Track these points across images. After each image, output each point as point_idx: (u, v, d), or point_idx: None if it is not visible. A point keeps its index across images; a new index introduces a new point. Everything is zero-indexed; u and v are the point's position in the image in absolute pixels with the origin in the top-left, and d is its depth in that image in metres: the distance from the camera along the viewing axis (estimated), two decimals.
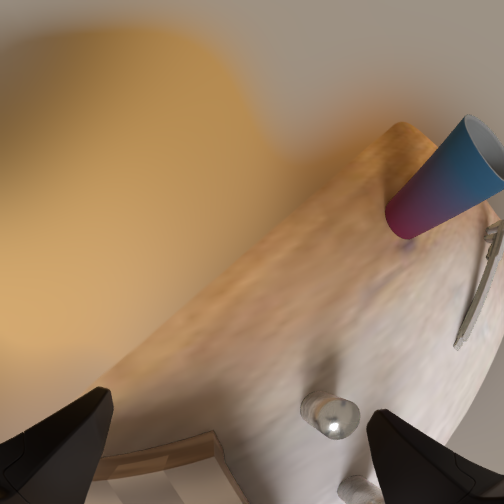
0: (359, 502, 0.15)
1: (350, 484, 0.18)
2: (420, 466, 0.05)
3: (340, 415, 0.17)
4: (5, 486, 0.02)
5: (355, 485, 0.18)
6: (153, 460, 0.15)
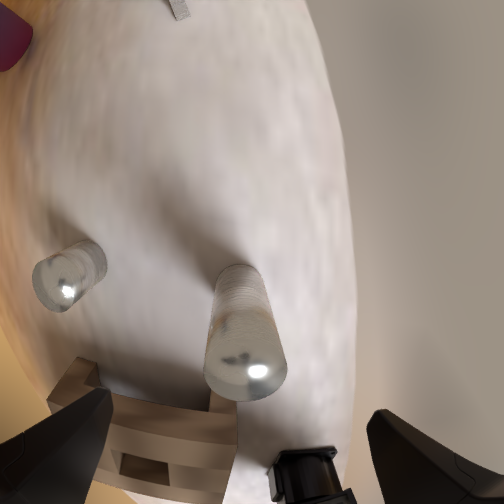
0: None
1: None
2: (420, 466, 0.05)
3: (45, 284, 0.13)
4: (5, 486, 0.02)
5: None
6: None
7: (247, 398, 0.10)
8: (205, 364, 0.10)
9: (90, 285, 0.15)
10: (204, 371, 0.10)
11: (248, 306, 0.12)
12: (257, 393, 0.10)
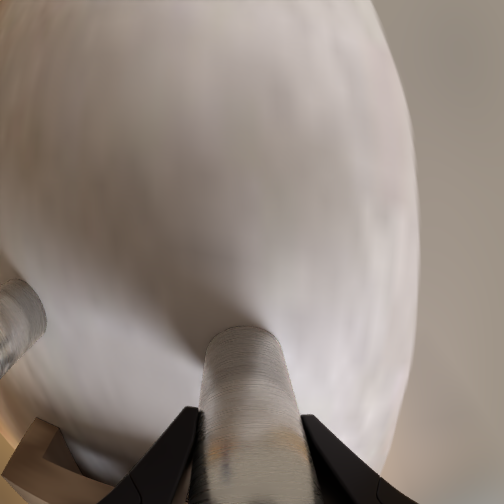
0: None
1: None
2: (334, 487, 0.05)
3: None
4: None
5: None
6: None
7: None
8: None
9: (18, 353, 0.08)
10: None
11: (266, 463, 0.05)
12: None
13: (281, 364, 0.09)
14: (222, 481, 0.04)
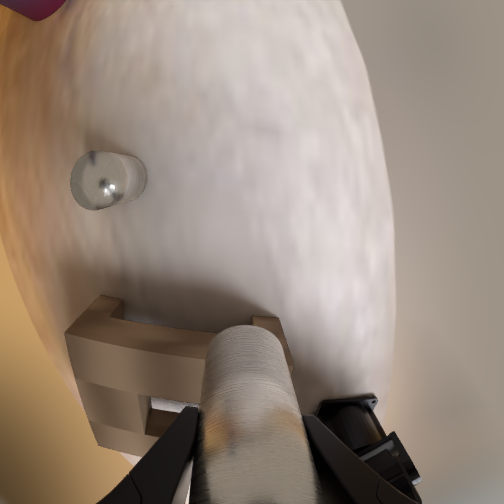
0: None
1: None
2: (334, 487, 0.05)
3: (87, 178, 0.13)
4: None
5: None
6: None
7: None
8: None
9: (132, 189, 0.15)
10: None
11: (267, 462, 0.05)
12: None
13: (282, 363, 0.09)
14: (223, 480, 0.04)
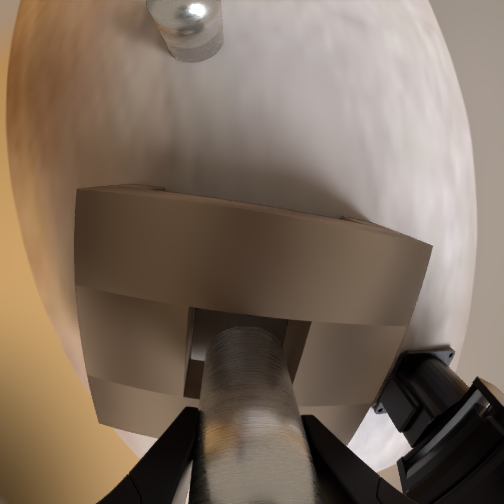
0: None
1: None
2: (334, 487, 0.05)
3: None
4: None
5: None
6: None
7: None
8: None
9: (217, 28, 0.10)
10: None
11: (266, 463, 0.05)
12: None
13: (281, 364, 0.09)
14: (222, 481, 0.04)
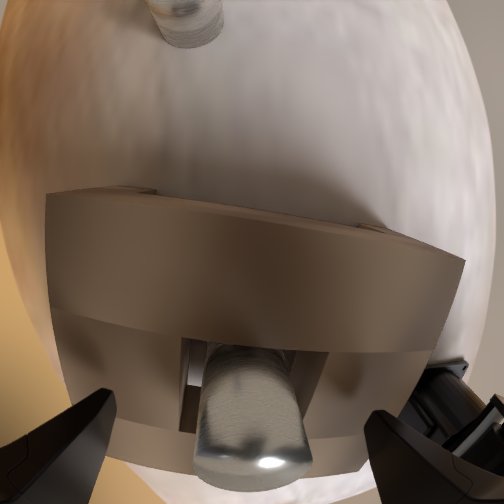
0: None
1: None
2: (417, 467, 0.05)
3: None
4: (9, 489, 0.02)
5: None
6: None
7: (255, 489, 0.06)
8: (195, 461, 0.06)
9: (216, 7, 0.08)
10: (194, 467, 0.06)
11: (255, 369, 0.08)
12: (268, 485, 0.06)
13: None
14: (224, 381, 0.08)
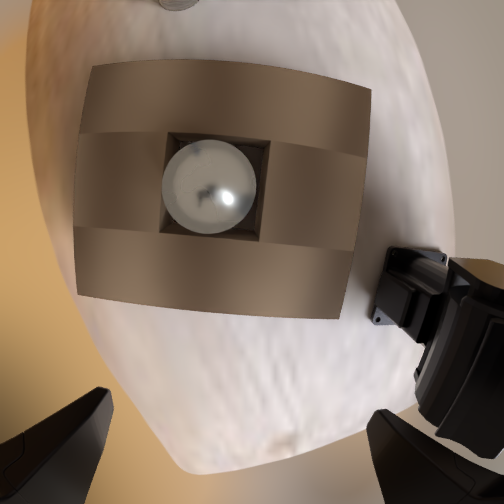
0: None
1: None
2: (420, 466, 0.05)
3: None
4: (5, 486, 0.02)
5: None
6: None
7: (213, 228, 0.10)
8: (164, 178, 0.09)
9: None
10: (162, 188, 0.09)
11: None
12: (224, 219, 0.10)
13: None
14: None
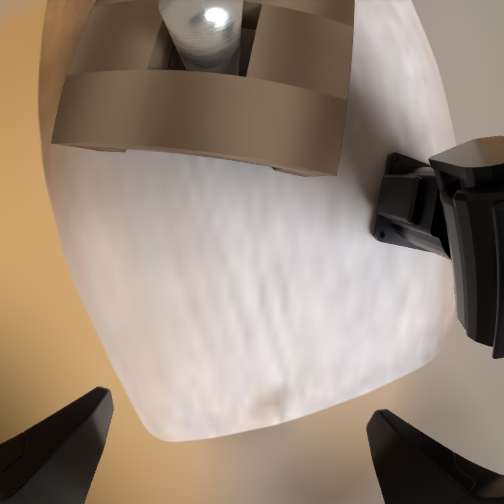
0: (182, 59, 0.12)
1: None
2: (420, 466, 0.05)
3: None
4: (5, 486, 0.02)
5: None
6: None
7: (199, 23, 0.07)
8: None
9: None
10: (160, 0, 0.07)
11: None
12: (211, 17, 0.07)
13: None
14: None
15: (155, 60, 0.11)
